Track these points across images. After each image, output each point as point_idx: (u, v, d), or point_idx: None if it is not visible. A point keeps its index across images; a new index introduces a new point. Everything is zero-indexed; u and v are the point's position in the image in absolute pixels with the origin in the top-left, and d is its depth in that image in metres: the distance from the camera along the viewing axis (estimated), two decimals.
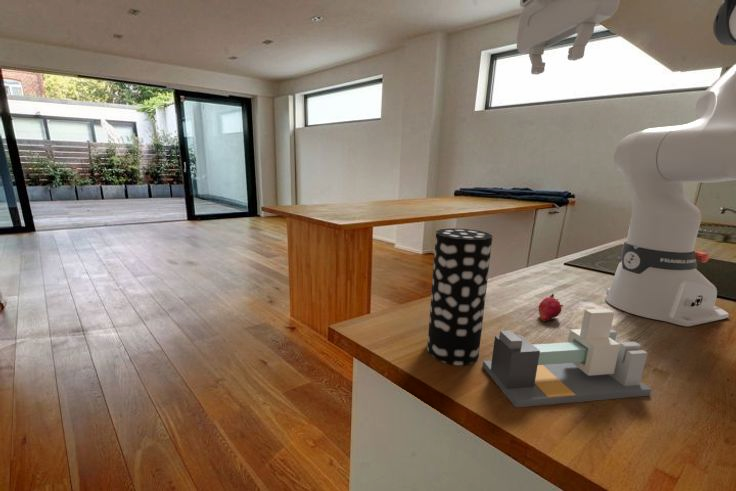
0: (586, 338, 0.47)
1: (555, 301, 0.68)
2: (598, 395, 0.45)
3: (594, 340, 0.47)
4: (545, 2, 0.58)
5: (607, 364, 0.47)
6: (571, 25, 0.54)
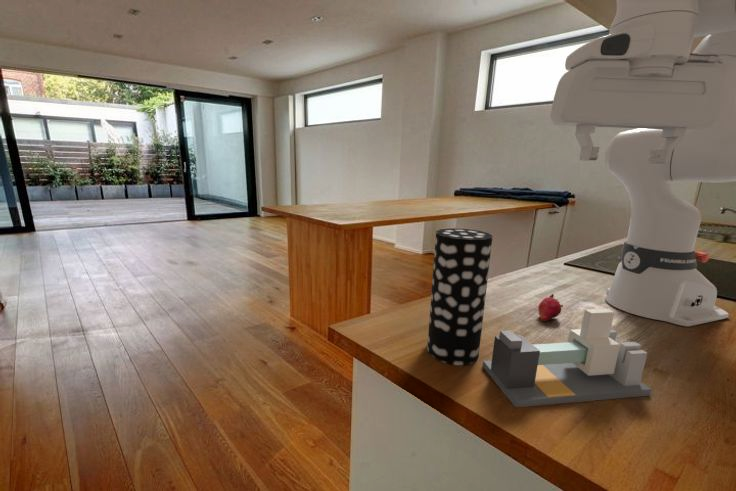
0: (586, 338, 0.47)
1: (555, 301, 0.67)
2: (598, 395, 0.45)
3: (594, 340, 0.47)
4: (637, 74, 0.42)
5: (607, 364, 0.47)
6: (675, 126, 0.44)
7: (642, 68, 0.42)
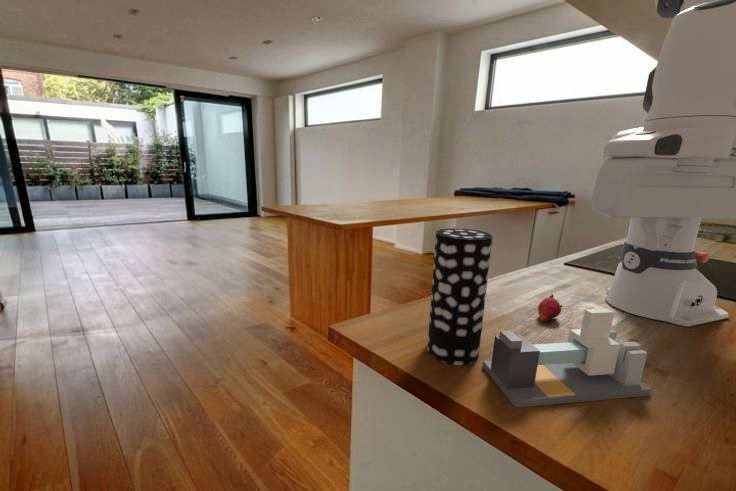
0: (586, 338, 0.47)
1: (555, 301, 0.67)
2: (598, 395, 0.45)
3: (594, 340, 0.47)
4: (681, 171, 0.41)
5: (607, 364, 0.47)
6: (708, 217, 0.44)
7: (688, 166, 0.41)
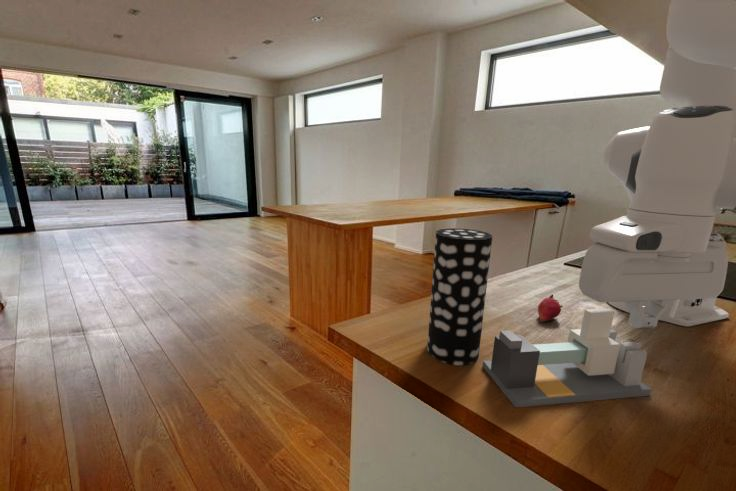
0: (586, 338, 0.47)
1: (554, 302, 0.67)
2: (598, 395, 0.45)
3: (594, 340, 0.47)
4: (662, 261, 0.44)
5: (607, 364, 0.47)
6: (688, 298, 0.47)
7: (668, 257, 0.44)
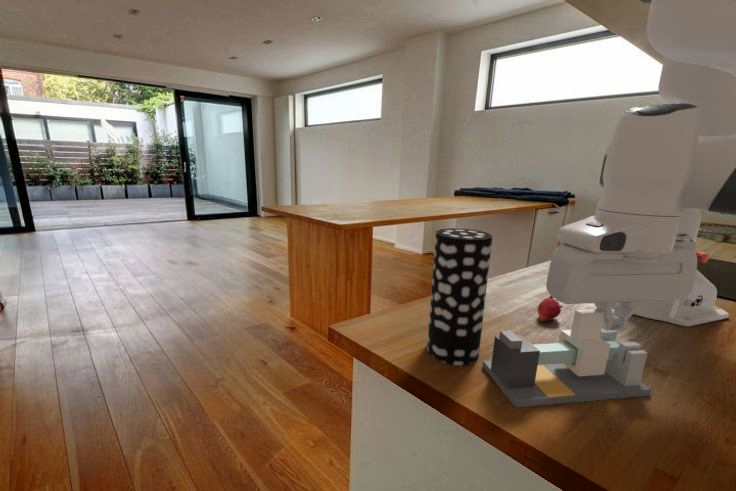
0: (576, 339, 0.47)
1: (554, 302, 0.67)
2: (598, 395, 0.45)
3: (584, 341, 0.47)
4: None
5: (597, 365, 0.47)
6: (657, 300, 0.46)
7: (634, 258, 0.43)
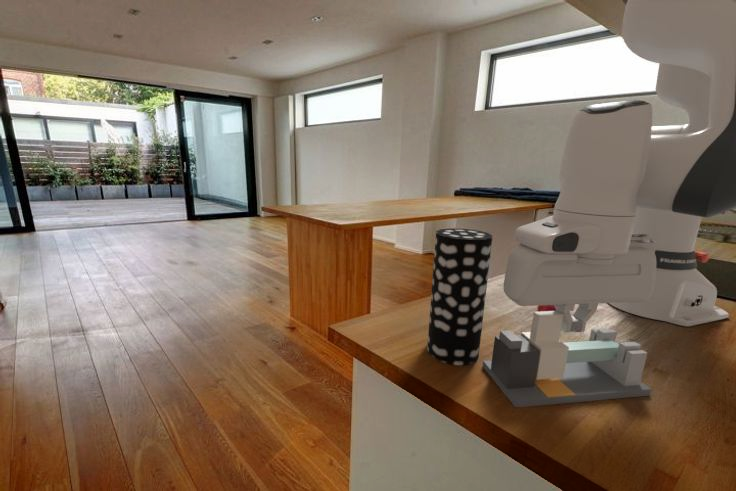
0: (535, 341, 0.46)
1: None
2: (598, 395, 0.45)
3: (543, 343, 0.46)
4: (584, 263, 0.42)
5: (556, 368, 0.46)
6: (616, 302, 0.45)
7: (589, 259, 0.42)
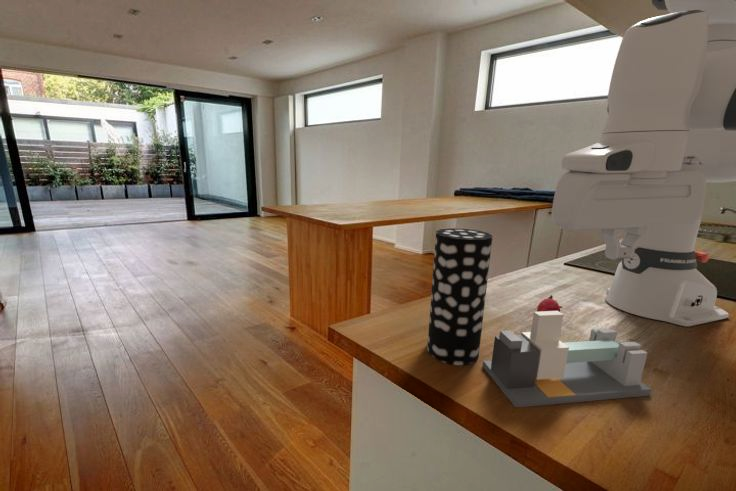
0: (535, 341, 0.46)
1: (554, 302, 0.67)
2: (598, 395, 0.45)
3: (543, 343, 0.46)
4: (635, 184, 0.42)
5: (556, 368, 0.46)
6: (665, 226, 0.45)
7: (641, 179, 0.42)
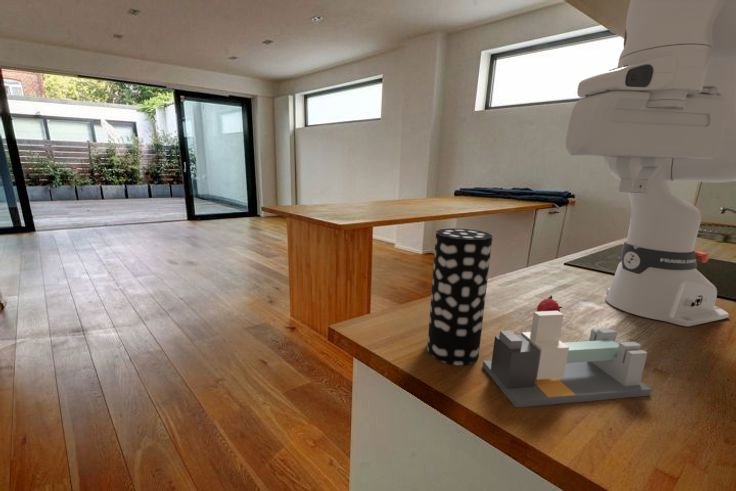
0: (535, 341, 0.46)
1: (553, 303, 0.67)
2: (598, 395, 0.45)
3: (543, 343, 0.46)
4: (654, 106, 0.41)
5: (556, 368, 0.46)
6: (683, 157, 0.44)
7: (660, 100, 0.40)
